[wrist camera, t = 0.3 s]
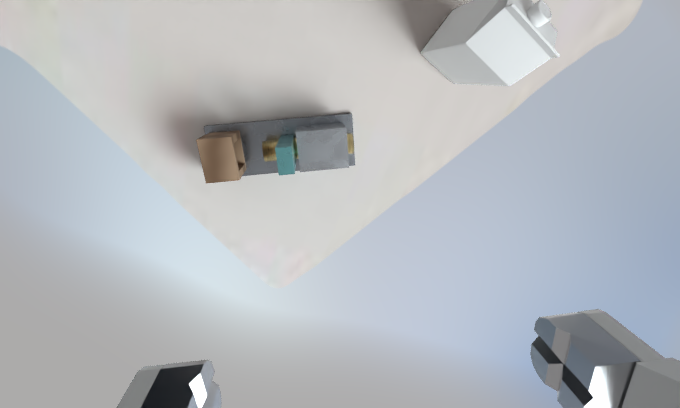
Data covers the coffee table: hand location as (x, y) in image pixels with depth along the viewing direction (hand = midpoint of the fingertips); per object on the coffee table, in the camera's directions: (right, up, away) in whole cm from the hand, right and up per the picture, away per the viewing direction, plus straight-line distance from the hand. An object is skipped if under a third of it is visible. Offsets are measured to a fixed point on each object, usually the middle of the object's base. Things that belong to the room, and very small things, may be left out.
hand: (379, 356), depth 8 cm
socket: (-18, +12, +42) cm, 48 cm away
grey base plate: (-10, +13, +43) cm, 46 cm away
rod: (-6, +13, +42) cm, 44 cm away
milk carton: (+16, +27, +40) cm, 51 cm away
